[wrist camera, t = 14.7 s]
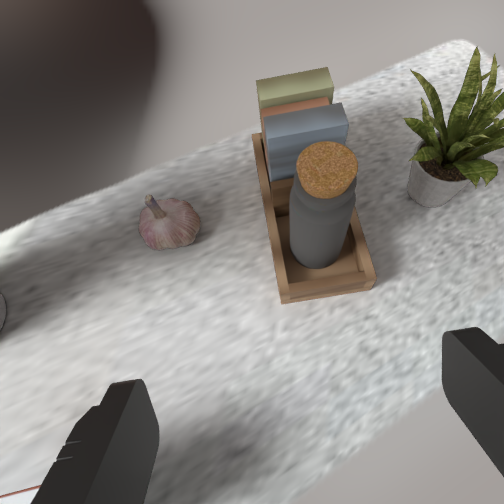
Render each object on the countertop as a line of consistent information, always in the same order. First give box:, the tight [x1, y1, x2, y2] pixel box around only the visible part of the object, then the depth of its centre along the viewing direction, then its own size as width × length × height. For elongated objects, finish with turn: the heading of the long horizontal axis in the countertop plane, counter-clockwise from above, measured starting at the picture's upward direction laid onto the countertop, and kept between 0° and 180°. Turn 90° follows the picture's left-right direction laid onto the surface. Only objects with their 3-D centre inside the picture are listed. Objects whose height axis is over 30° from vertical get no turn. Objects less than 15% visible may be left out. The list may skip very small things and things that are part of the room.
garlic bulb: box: [139, 195, 200, 250], centre depth 42 cm, size 8×7×8 cm
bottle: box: [289, 141, 358, 269], centre depth 34 cm, size 6×6×15 cm
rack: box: [252, 67, 377, 304], centre depth 38 cm, size 22×10×13 cm, turn 8°
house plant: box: [402, 46, 504, 207], centre depth 36 cm, size 14×14×16 cm
